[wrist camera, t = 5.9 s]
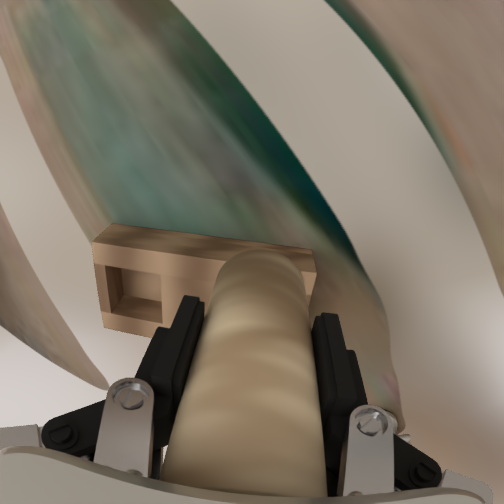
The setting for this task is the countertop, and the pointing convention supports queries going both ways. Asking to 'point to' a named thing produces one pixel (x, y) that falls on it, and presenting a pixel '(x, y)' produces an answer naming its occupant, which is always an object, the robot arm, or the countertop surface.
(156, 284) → the walnut socket block
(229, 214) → the countertop surface
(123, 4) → the countertop surface
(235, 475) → the birch dowel
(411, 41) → the countertop surface
